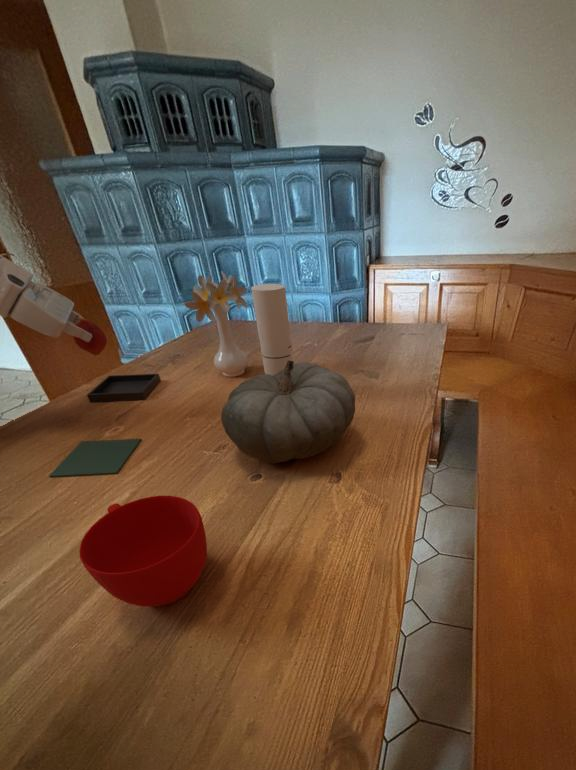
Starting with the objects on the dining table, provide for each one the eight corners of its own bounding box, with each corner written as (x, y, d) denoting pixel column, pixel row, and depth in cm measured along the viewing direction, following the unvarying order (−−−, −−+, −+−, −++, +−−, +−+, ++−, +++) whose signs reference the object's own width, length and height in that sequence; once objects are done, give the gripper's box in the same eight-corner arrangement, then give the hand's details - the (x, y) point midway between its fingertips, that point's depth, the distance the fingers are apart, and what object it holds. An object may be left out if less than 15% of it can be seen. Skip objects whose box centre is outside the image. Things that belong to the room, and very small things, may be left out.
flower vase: (201, 387, 101) (172, 283, 86) (220, 362, 116) (198, 269, 101) (250, 386, 101) (230, 282, 86) (263, 361, 116) (248, 268, 101)
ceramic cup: (174, 523, 60) (152, 471, 54) (238, 579, 51) (221, 525, 45) (85, 573, 52) (48, 520, 46) (143, 650, 44) (107, 596, 37)
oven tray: (90, 402, 95) (86, 394, 94) (111, 382, 105) (108, 375, 103) (144, 400, 96) (142, 392, 94) (161, 380, 105) (158, 373, 104)
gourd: (387, 435, 76) (371, 350, 65) (283, 506, 65) (243, 419, 55) (316, 404, 92) (293, 333, 82) (224, 457, 82) (185, 383, 71)
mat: (49, 477, 70) (48, 475, 70) (82, 443, 80) (81, 441, 79) (117, 474, 71) (116, 472, 70) (141, 440, 80) (140, 438, 80)
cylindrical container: (301, 391, 99) (290, 284, 84) (290, 403, 93) (276, 291, 78) (276, 388, 100) (260, 283, 85) (263, 400, 95) (244, 289, 80)
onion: (108, 348, 88) (93, 311, 83) (115, 355, 84) (99, 317, 79) (79, 354, 85) (62, 316, 80) (85, 361, 81) (67, 322, 76)
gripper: (14, 291, 81) (87, 333, 90) (-10, 314, 66) (81, 360, 75) (28, 266, 80) (101, 310, 89) (7, 283, 65) (97, 334, 74)
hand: (92, 334), depth 82 cm, fingers closed on onion, 6 cm apart
